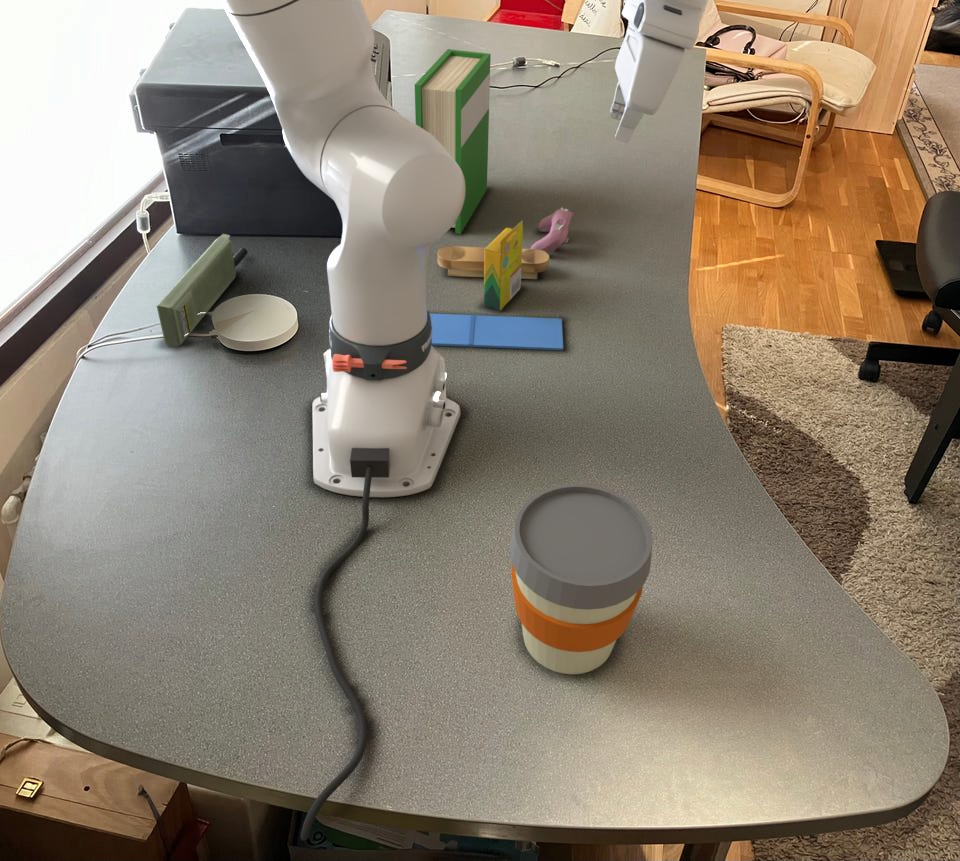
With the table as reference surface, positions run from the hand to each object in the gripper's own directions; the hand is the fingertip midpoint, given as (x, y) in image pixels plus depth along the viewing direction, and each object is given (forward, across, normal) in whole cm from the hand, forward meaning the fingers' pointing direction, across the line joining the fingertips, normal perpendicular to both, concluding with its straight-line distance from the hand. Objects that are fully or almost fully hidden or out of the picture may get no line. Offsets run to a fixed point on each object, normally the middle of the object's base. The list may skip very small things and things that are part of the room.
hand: (618, 128), depth 108 cm
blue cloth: (+32, 0, -7) cm, 33 cm away
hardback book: (+31, -37, -16) cm, 51 cm away
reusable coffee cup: (+35, +52, +4) cm, 63 cm away
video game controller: (+27, -26, +1) cm, 38 cm away
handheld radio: (+43, -5, -48) cm, 64 cm away
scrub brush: (+30, -16, -8) cm, 35 cm away
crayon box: (+31, -9, -6) cm, 33 cm away
